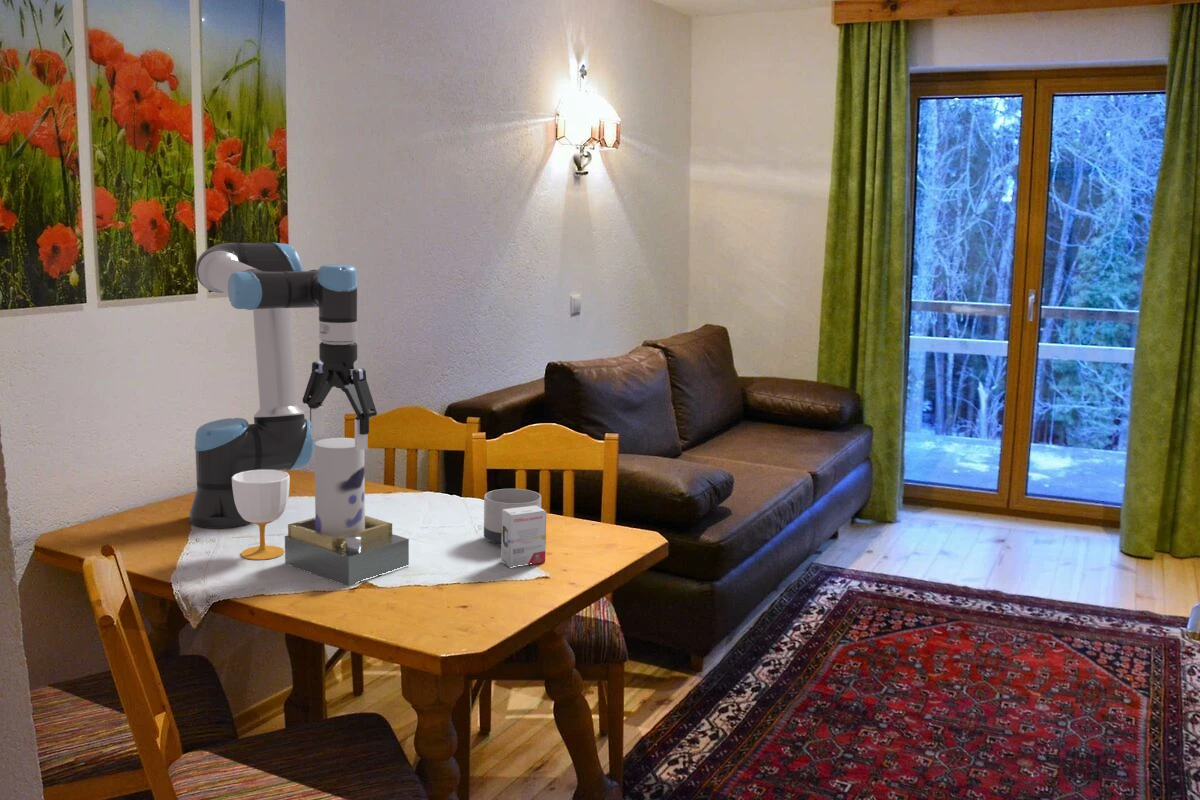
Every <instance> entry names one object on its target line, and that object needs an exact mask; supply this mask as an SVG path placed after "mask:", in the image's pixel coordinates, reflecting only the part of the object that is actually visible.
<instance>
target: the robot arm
mask: <svg viewBox="0 0 1200 800" xmlns="http://www.w3.org/2000/svg"><path fill="white" fill-rule="evenodd" d="M300 258H301V257H300V256H299V254H298V252H297V249H296V248H294V247H293V246H292V245H290V244H288V243H280V242H227V243H225V242H224V243H220V244H215V245H214V246H211V247H209V248H208V249H206V250H205V251H203V252H202V253H201V254H200V256H198V258H197V260H196V262H195V276H196V279H197V280H198V282H199V284H201V286H203V288H205V289H207V290H208V291H210V292H213V293H216V294H226V295H227V296H228V300H229V302H230V305H231V306H232V307H233V308H234V309H235V310H236V309H237V310H247V311H252V315H253V329H254V342H255V343H254V344H255V357H256V369H257V370H256V371H257V385H258V399H259V409H258V410H257V412H256V413H255V414H254V415H253V421H254V422H253V423H249V422H248V420H247V419H246V418H243V417H242V418H241V417H235V418H232V417H229V418H228V417H227V418H222V419H217V420H211V421H209V422H206V423H204V424H202V425H200V426H199V427H198V428H197V430H196V431H195V439H194V450H195V471H196V472H195V474H196V475H195V476H196V491H195V494H194V498H193V501H192V504H191V508H190V509H189V522H190V524H191V525H193V526H196V527H200V528H206V529H229V528H230V529H231V528H235V527H241V526H246V525H248V524H252V523H251V522H248V521H246V520H244V519H243V518H242V517H241V515H240V514H239V512H238V511H237V508H236V505H235V502H234V495H233V489H232V477H233V476H234V475H235V474H238V473H240V472H245V471H250V470H279V471H291V470H294V469H302V468H304V467H306V466H307V465H308V464H309V463H310V462H311V459H312V457H313V454H314V443H315V442H316V441H315V440H322V439H325V408H324V407H323V406H324V404H323V403H324V401H325V399H326V398H327V396H328V395H329V392H330V391H331V390H332V388H333V387H335V388H336V389H340V390H341V391H342V392H344V393H345V395H346V398H347V399H348V401H349V403H350V406H351V407H352V409H353V411H354V413H355V415H356V417H355V418H354V439H355V450H356V451H359V450H364V451H365V450H368V447H369V446H368V445H369V444H368V441H369V440H368V438H369V437H368V435H369V433H370V419H371V418H372V417H376V416H377V414H378V412H377V408H376V406H375V402H374V399H373V396H372V394H371V390H370V388H369V384H368V380H367V373H366V369H365V368H357V369H356V368H355V365H354V364H355V362H356V361H357V360H358V344H357V342H356V341H357V340H358V339H359V337H358V286H359V282H358V276H357V269H356V267H355V266H353V265H349V264H338V263H337V264H334V263H333V264H322V265H320V266H319V268H318V269H310V270H304V271H303V265H302V261H301V259H300ZM303 308H304V309H306V308H307V309H308V308H309V309H310V308H314V309H315V308H318V321H319V323H318V325H319V326H318V327H319V328H318V329H319V331H318V332H319V340H320V341H321V342H320V343H319V344H318V345H319V346H318V347H319V350H318V351H319V352H318V353H319V357H318V359H319V360H320V361H313V362H312V364H311V373H310V376H309V379H308V382H307V385H306V388H305V391H304V394H303V397H302V404H304V405H305V404H306V405H307V406H308V408H309V419H307V418H305V411H303V410H302V409H301V408H300V407H299V406H298V401H297V400H298V399H297V389H296V388H297V385H296V373H295V372H296V369H295V368H296V367H295V359H294V354H295V353H294V343H293V327H292V312H291V309H303Z"/></svg>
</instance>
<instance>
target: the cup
mask: <svg viewBox="0 0 1200 800" xmlns="http://www.w3.org/2000/svg"><path fill="white" fill-rule="evenodd" d="M290 478H291V476H290V474H289V473H288V472H286V471H284V470H280V471H279V470H250V471H245V472H240V473H238V474H235V475H234V476H233V477H232V489H233V495H234V502H235V505H236V508H237V511H238V512H239V514H240V515H241V517H242V518H243V519H244V520H246V521H248V522H251V523H250V524H254V525H257V526H258V527H259V546H252V547H248V548H245V549H243V550H242V551H241V552H240V556H241V558H244V559H246V560H251V561H266V560H268V561H269V560H273V559H277V558H279V557H282V556H283V555H285V548H282V547H280V546H276V545H266V538H265V537H266V535H265V534H266V532H265V531H266V525H268V524H271V523H273V522H275V521H277V520H279V518H281V517H282V515H283V513H284V512H285V511H286V509H287V505H288V502H289V496H290V493H289V492H290V484H291V483H290ZM281 555H282V556H281Z"/></svg>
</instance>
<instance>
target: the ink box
mask: <svg viewBox="0 0 1200 800" xmlns="http://www.w3.org/2000/svg"><path fill="white" fill-rule="evenodd" d="M546 541H547V511H546V510H545V509H544V508H542V507H541V508H540V507H538V506H537V505H535V506H527V507H518V508H510V509H502V540H501V545H500V547H501V548H500V552H501V554H500V561H501V562H502V564H504V563H505V564H506V565H505V564H504V565H505V566H507V567H508V566H509V567H513V566H518V565H525V564H530V563H532V565H536V564H541V563H545V562H546V546H547V543H546ZM509 567H508V568H509Z"/></svg>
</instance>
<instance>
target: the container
mask: <svg viewBox="0 0 1200 800" xmlns="http://www.w3.org/2000/svg"><path fill="white" fill-rule="evenodd" d="M313 452H314V500H315V501H314V502H315V503H314V505H315V507H314V508H315V509H314V510H315V512H314V513H315V517H314V518H316V531H317V532H320V533H323V534H327V535H330V536H333V537H340V536H343V535H347V534H350V533H354V532H357V531H361V530H365V516H366V513H365V512H366V509H365V506H366V505H365V504H366V503H365V501H366V497H365V495H366V494H365V490H366V489H365V486H366V482H365V449H364V450H359V451H356V450H355V437H353V438H352V437H330V438H321V439H318V440H317V441H314V450H313Z"/></svg>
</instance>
